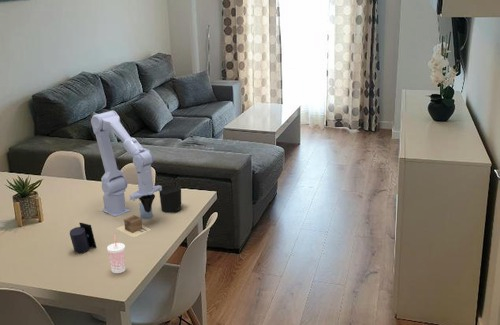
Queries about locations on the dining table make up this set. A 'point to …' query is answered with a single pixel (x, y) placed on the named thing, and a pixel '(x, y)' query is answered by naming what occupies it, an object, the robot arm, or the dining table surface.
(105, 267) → the dining table surface
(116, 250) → the beverage cup
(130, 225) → the walnut block
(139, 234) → the letter
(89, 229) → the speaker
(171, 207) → the pen holder
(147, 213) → the slate cylinder
